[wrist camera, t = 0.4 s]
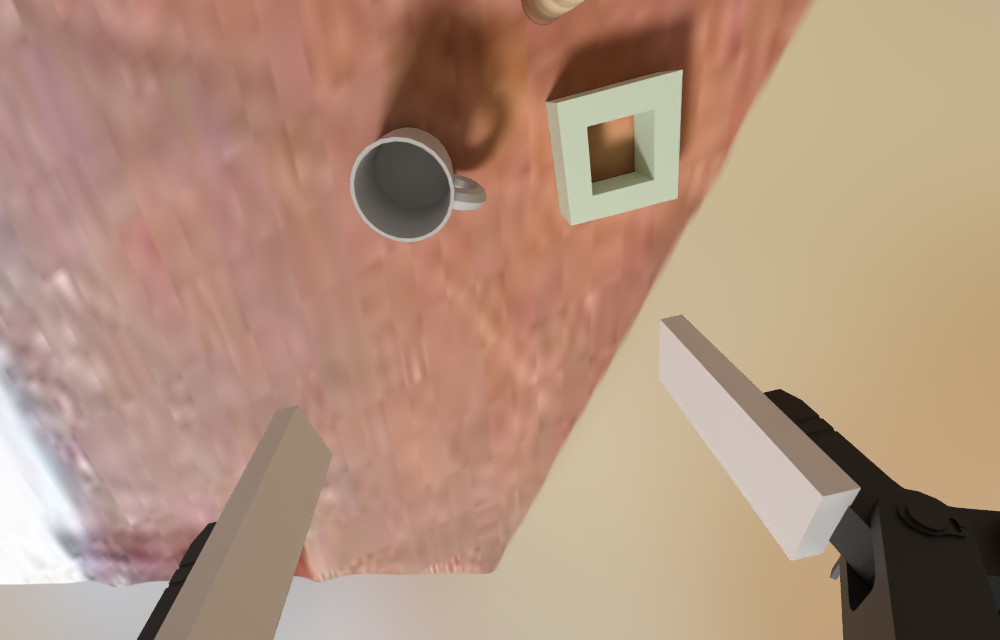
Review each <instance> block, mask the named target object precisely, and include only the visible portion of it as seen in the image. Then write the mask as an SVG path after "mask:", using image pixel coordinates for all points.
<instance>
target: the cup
mask: <svg viewBox="0 0 1000 640" xmlns="http://www.w3.org/2000/svg"><path fill="white" fill-rule="evenodd" d="M350 189H351V197H352V199H353V202H354V205H355V207H356V210H357V211H358V213H359V214H360V216H361V217H362V219H363V220H364V221H365V222H366V223H367V224H368V225H369V226H370V227H371V228H372V229H373V230H374V231H376V232H378V233H379V234H381V235H383V236H384V237H386V238H390V239H393V240H396V241H403V242H414V241H419V240H424V239H426V238H428V237H430V236H432V235H434V234H435V233H436V232H438V231H439V230H440V229H441V228H442V227H443V226H444V225H445V223H446V222H447V220H448V218H449V217H450V215H451V211H452V209H457V210H475V209H479V208H481V207H482V205H483V204H484V202H485V201H486V194H485V190H484V188H483V187H482V186H481V185H480V184H478V183H477V182H475V181H474V180H472V179H469V178H467V177H464V176H460V175H456V174H454V173H453V168H452V162H451V159H450V157H449V155H448V152H447V150H446V148H445V147H444V146H443V145H442V144H441V142H440V141H439V140H438V139H437V138H435V137H434V136H433V135H431V134H430V133H429V132H426V131H423V130H421V129H418V128H409V127H405V128H400V129H395V130H393V131H391V132H389V133H387V134H386V135H384V136H382V137H381V138H379V139H378V140H376V141H375V142H373V143H372V144H370V145H369V146H367V147H366V148H365V150H364V151H363V152H362V153H361V154H360V155H359V156H358V158H357V160H356V162H355V164H354V166H353V168H352V172H351V178H350Z"/></svg>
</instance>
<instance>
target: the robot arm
mask: <svg viewBox="0 0 1000 640" xmlns="http://www.w3.org/2000/svg"><path fill="white" fill-rule="evenodd" d="M658 378H659V380H660V381H661V382H662V383H663V385H664V387H665V388H666V389H667V391H668V392H669V393H670V394H671V396H672V398H673V399H674V400H675V402H676V403H677V404H678V406H679V407H680V409H681V410H682V411H683V412H684V414H685V415H686V417H687V418H688V420H689V421H690V422H691V424H692V425H693V426H694V428H695V429H696V431H697V432H698V433H699V435H700V436H701V438H702V439H703V440H704V442H705V443H706V444H707V446H708V447H709V449H710V450H711V451H712V453H713V454H714V455H715V456H716V458H717V460H718V461H719V462H720V464H721V465H722V466H723V468H724V469H725V470H726V472H727V473H728V475H729V476H730V477H731V479H732V480H733V482H734V483H735V484H736V486H737V487H738V488H739V490H740V491H741V493H742V494H743V495H744V497H745V498H746V499H747V501H748V502H749V504H750V505H751V506H752V508H753V509H754V511H755V512H756V513H757V515H758V516H759V517H760V519H761V520H762V522H763V523H764V524H765V526H766V527H767V528H768V530H769V531H770V533H771V534H772V535H773V537H774V538H775V540H776V541H777V542H778V544H779V545H780V546H781V548H782V549H783V551H784V552H785V553H786V555H787V556H788V557H789V559H790V560H791V561H792V560H796V559H801V558H805V557H810V556H814V555H818V554H822V553H823V552H824V550H825V548H826V546H827V545H828V543H829V542H831V543H832V544H833V545H834V546H835V548H836V549H837V550H838V551H839V552H840V554H841V556H840V558H839V559H838V561H837V562H836V564H835V565H834V567H833V568H832V571H831V575H830V578H833V579H835V580H836V579H837V578H838V577H839V575H840V582H841V599H842V601H841V602H842V622H843V640H1000V511H988V510H977V509H966V508H956V507H950V506H947V505H946V504H944V503H942V502H941V501H939V500H937V499H936V498H933V497H930V496H928V495H926V494H923V493H921V492H918V491H913V490H908V489H904V488H902V487H901V486H900V485H898V484H897V483H896V482H894V481H893V480H892V479H891V478H890V477H888V476H887V475H886V474H885V473H884V472H883V471H882V470H880V469H879V468H878V467H877V466H876V465H875V464H874V463H873V462H871V461H870V460H869V459H868V458H867V457H866V456H864V455H863V454H862V453H861V452H860V451H859V450H858V449H857V448H855V447H854V446H853V445H852V444H851V443H850V442H849V441H847V440H846V439H845V438H844V437H843V436H842V435H841V434H840V433H838V432H837V431H836V432H835V431H834V429H833V427H832V426H831V425H829V424H828V423H827V422H826V421H825V420H824V419H821V418H819V415H818V414H817V413H816V412H815V411H813V410H812V409H811V408H810V407H809V406H808V405H807V404H805V403H804V402H803V401H802V400H800V399H798V398H797V397H795V396H793V395H791V394H789V393H787V392H785V391H783V390H781V389H778V390H774V391H769V392H765V393H762V392H761V391H760V390H759V389H758V388H757V387H756V386H755V385H754V384H753V383H752V382H751V381H750V380H749V379H748V378H747V377H746V376H745V375H744V374H743V373H742V372H741V371H740V370H739V369H737V367H735V366H734V365H733V364H732V363H731V362H730V361H729V360H728V359H727V358H726V357H725V356H724V355H723V354H722V353H721V352H720V351H719V350H718V349H717V348H716V347H715V346H714V345H713V344H712V343H711V342H710V341H709V340H708V339H707V338H705V337H704V336H703V335H702V334H701V333H700V332H699V331H698V330H697V329H696V328H695V327H694V326H693V325H692V324H691V323H690V322H689V321H688V320H687V319H686V318H685V317H684V316H683V315H678V316H674V317H669V318H665V319H661V320H660V340H659V361H658ZM331 457H332V452H331V451H330V450H329V448H328V447H327V445H326V444H325V443H324V441H323V440H322V438H321V437H320V436H319V434H318V433H317V432H316V430H315V429H314V427H313V426H312V425H311V423H310V422H309V420H308V419H307V418H306V416H305V415H304V414H303V412H302V411H301V409H300V408H299V407H298V405H297V406H293V407H289V408H285V409H280V410H277V411H276V413H275V414H274V416H273V418H272V420H271V422H270V424H269V426H268V428H267V429H266V431H265V433H264V435H263V437H262V439H261V441H260V443H259V444H258V446H257V448H256V450H255V452H254V454H253V456H252V457H251V459H250V461H249V463H248V465H247V467H246V469H245V471H244V472H243V474H242V476H241V478H240V480H239V482H238V484H237V485H236V487H235V489H234V491H233V493H232V495H231V497H230V499H229V500H228V502H227V504H226V506H225V508H224V510H223V512H222V514H221V515H220V517H219V519H218V521H217V522H213V523H209V524H208V525H207V526H206V527H205V528H204V530H203V531H202V532H201V533H200V534H199V535H198V536H197V538H196V539H195V540H194V541H193V542H192V543H191V545H190V547H189V549H188V550H187V552H186V554H185V556H184V557H183V559H182V561H181V563H180V564H179V569H178V570H176V571H175V573H174V575H173V577H172V579H171V580H170V582H169V587H168V588H166V589H165V591H164V593H163V595H162V596H161V598H160V600H159V602H158V603H157V605H156V607H155V609H154V611H153V612H152V614H151V616H150V618H149V619H148V621H147V623H146V624H145V626H144V628H143V630H142V632H141V633H140V635H139V637H138V639H137V640H273V639H274V636H275V633H276V629H277V626H278V623H279V620H280V617H281V614H282V611H283V607H284V604H285V601H286V598H287V595H288V592H289V588H290V585H291V582H292V579H293V576H294V573H295V570H296V567H297V564H298V560H299V557H300V554H301V551H302V548H303V545H304V542H305V538H306V535H307V532H308V529H309V526H310V523H311V520H312V516H313V513H314V510H315V507H316V504H317V501H318V498H319V494H320V491H321V488H322V485H323V482H324V479H325V476H326V473H327V469H328V466H329V463H330V460H331Z"/></svg>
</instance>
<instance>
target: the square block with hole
mask: <svg viewBox="0 0 1000 640" xmlns="http://www.w3.org/2000/svg"><path fill="white" fill-rule="evenodd" d="M682 74H683V70H674V71H664V72H656V73H653V74H649V75H645V76H641V77H637V78H634V79H630V80H626V81H622V82H619V83H615V84H611V85H607V86H604V87H600V88H596V89H592V90H589V91H585V92H581V93H577V94H574V95H570V96H566V97H562V98H558V99H555V100H551V101H547V102H546V110H547V117H548V125H549V132H550V140H551V147H552V155H553V162H554V169H555V177H556V184H557V192H558V199H559V207H560V214H561V215H562V216H563V217H564V218H565V219H566V220H567V221H568V222H569V224H570V225H571V226H572V225H576V224H580V223H584V222H588V221H591V220H595V219H599V218H603V217H607V216H611V215H615V214H619V213H622V212H626V211H630V210H634V209H638V208H642V207H646V206H650V205H653V204H657V203H661V202H665V201H669V200H673V199H677V196H678V171H679V147H680V123H681V98H682ZM630 115H634V151H635V172H632V173H628V174H624V175H620V176H617V177H613V178H609V179H605V180H601V181H597V182H594V183H592V182H591V170H590V158H589V146H588V134H587V127H588V126H592V125H596V124H600V123H603V122H607V121H611V120H615V119H619V118H622V117H626V116H630Z"/></svg>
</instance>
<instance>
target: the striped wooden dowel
mask: <svg viewBox="0 0 1000 640" xmlns="http://www.w3.org/2000/svg"><path fill="white" fill-rule="evenodd" d="M583 1H585V0H521V2H522V6H523V9H524V11H525V13H526V15H527V16H528V18H529V19H530V20H531V21H533V22H534V23H536V24H539V25H547V24H550V23H552V22H554V21H555V20H557V19H558V18H560V17H561V16H563V15H564V14H566V13H567V12H568V11H570V10H571V9H573V8H574V7H576V6H577V5H579V4H580V3H582V2H583Z"/></svg>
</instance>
